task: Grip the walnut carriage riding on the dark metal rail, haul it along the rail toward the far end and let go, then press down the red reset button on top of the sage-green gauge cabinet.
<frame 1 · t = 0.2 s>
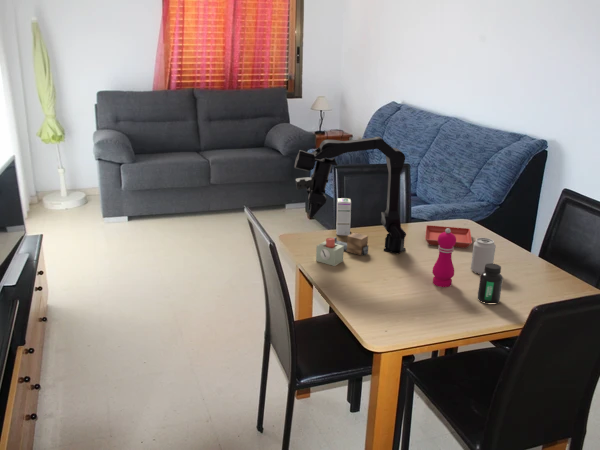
hand: (310, 213, 223), 15 cm above the table, tool pointing down, fingers open, 9 cm apart
supplement bottle: (488, 301, 192), on the table
rail: (349, 250, 230), on the table
gauge button: (330, 244, 217), point 7 cm above the table, slide at 0.0 cm
can: (481, 271, 214), on the table
carriage: (357, 243, 227), point 3 cm above the table, slide at 0.0 cm
syrup box: (342, 233, 249), on the table
pepper mill: (441, 284, 203), on the table
gauge cabinet: (329, 260, 220), on the table
plant saucer: (447, 241, 244), on the table
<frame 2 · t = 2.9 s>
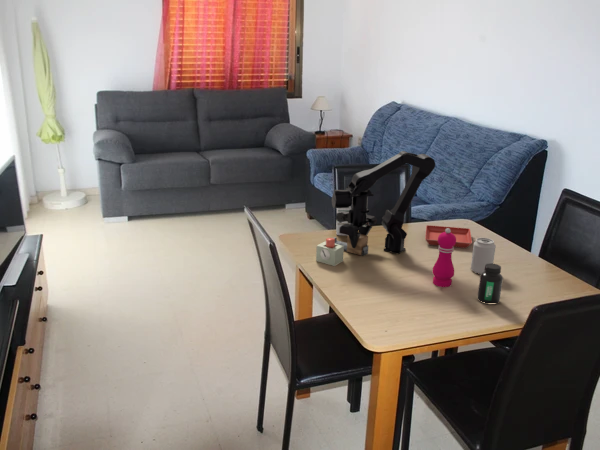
hand: (357, 246, 228), 3 cm above the table, tool pointing down, fingers closed on carriage, 5 cm apart
carriage: (357, 243, 227), point 3 cm above the table, slide at 0.0 cm, touching gripper
everything else where it was.
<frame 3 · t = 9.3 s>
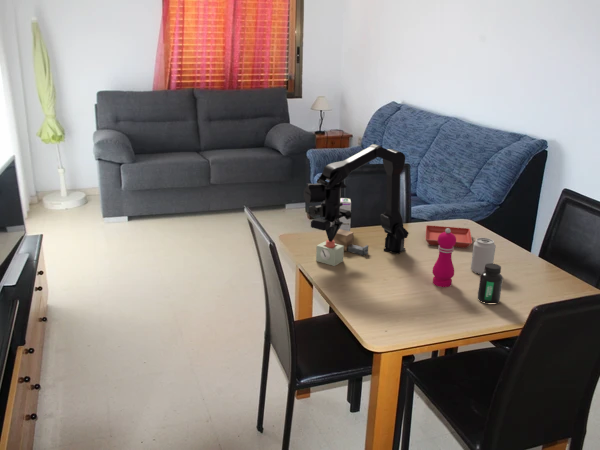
hand: (330, 241, 217), 8 cm above the table, tool pointing down, fingers closed, pressing on gauge button
gauge button: (330, 246, 218), point 6 cm above the table, slide at 0.8 cm, touching gripper
carriage: (342, 240, 231), point 3 cm above the table, slide at 6.4 cm
everything else where it was.
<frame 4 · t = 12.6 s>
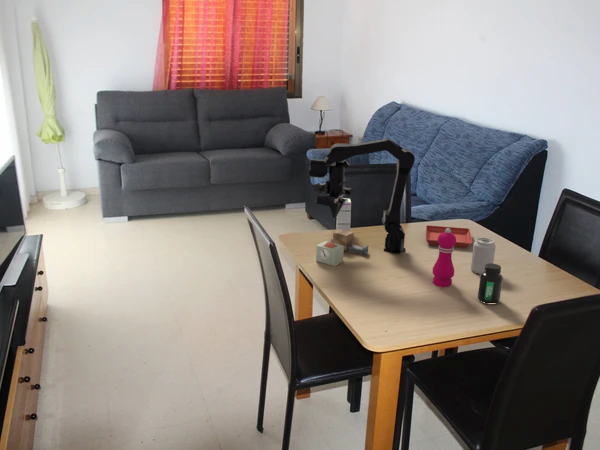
hand: (334, 217, 228), 13 cm above the table, tool pointing down, fingers closed
gauge button: (330, 248, 218), point 5 cm above the table, slide at 1.7 cm
everything else where it was.
at the end: carriage slide at 6.4 cm; gauge button slide at 1.7 cm; the gripper is holding nothing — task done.
